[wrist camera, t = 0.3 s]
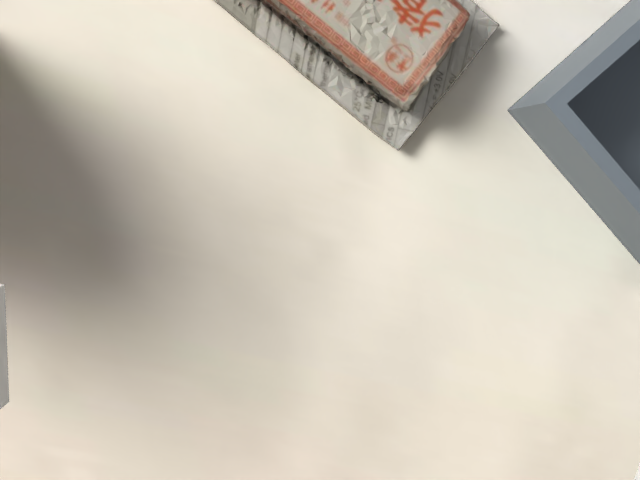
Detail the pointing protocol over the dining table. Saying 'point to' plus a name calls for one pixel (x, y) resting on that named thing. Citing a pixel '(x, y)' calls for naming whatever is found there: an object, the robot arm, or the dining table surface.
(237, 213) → the dining table surface
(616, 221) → the mailer box
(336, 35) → the packaged product
